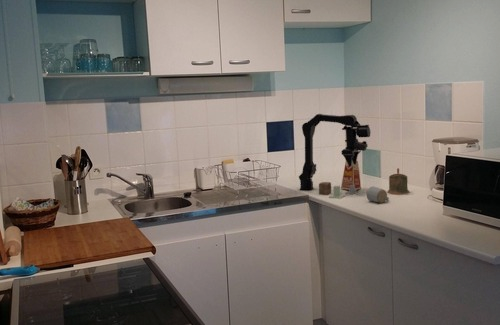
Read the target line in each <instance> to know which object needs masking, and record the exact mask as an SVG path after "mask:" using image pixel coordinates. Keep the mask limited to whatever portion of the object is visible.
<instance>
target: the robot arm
mask: <svg viewBox="0 0 500 325" xmlns="http://www.w3.org/2000/svg"><path fill="white" fill-rule="evenodd" d="M321 122H327V123H328V122H329V123H337V124H341V125H344V126H343V127H342V128H341V130H342V131H345V140H344V141H345V144H346V146H345V148H343V149H342V150H341V152H340V153H341V155H342V156H343V157H344V159H345V162H346V161H347V163H348V165H349V166H350V167H351V166H352V161H353V163H354V164H356V161H358V156H359V154H360V153H361V152H364V151H367V148H368V142H367V141H366V140H363V141H362V142H361V141H359V139H358V138H371V137H370V136H371V129H370V125H369V124H364V125H363V124H362V125H361V124H360V122H359V121H358V119H357V117H356V115H354V114H347V115H333V114H323V113H318V114H317V113H316V114H315V116H313V117H312V118H311V119H310V120H308V121H307V122H304V123H303V124H302V125H301V129H302V135H303V136H304V164H303V166H302V172H301V173H300V174H299V176H298V178H299V186H300V188H299V191H312V190H313V189H314V181H313V177H314V175H315V174H316V172H317V164H316V163H314V146H313V144H314V143H313V142H314V135H315V133H316V132H315V130H316V127H317V126H318V125H319V124H320V123H321ZM357 137H358V138H357Z"/></svg>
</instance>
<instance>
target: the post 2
mask: <svg viewBox="0 0 500 325" xmlns="http://www.w3.org/2000/svg"><path fill="white" fill-rule="evenodd" d="M358 193H360V191H359V190H358V191H357V190H355V186H352V185H351V186H349V190H348V191H346V192H345V195H357V194H358Z"/></svg>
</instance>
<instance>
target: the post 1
mask: <svg viewBox="0 0 500 325" xmlns="http://www.w3.org/2000/svg"><path fill="white" fill-rule="evenodd" d="M344 197H346V194H341V185H338V184H337V185H334V186H333V193H332V194H331V195H330V196H329V195H328V198H329V199H343V198H344Z"/></svg>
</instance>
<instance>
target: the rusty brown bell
mask: <svg viewBox="0 0 500 325" xmlns="http://www.w3.org/2000/svg"><path fill="white" fill-rule="evenodd" d="M388 178H389V179H388V184H389V185H388V190H387V194H389V195H394V196H395V195H396V196H400V195H401V196H402V195H409V194H410V191H409V189H408V176H407V174H403V173H400V168H398V167H397V168H396V173H393V174H391V175H388Z"/></svg>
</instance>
